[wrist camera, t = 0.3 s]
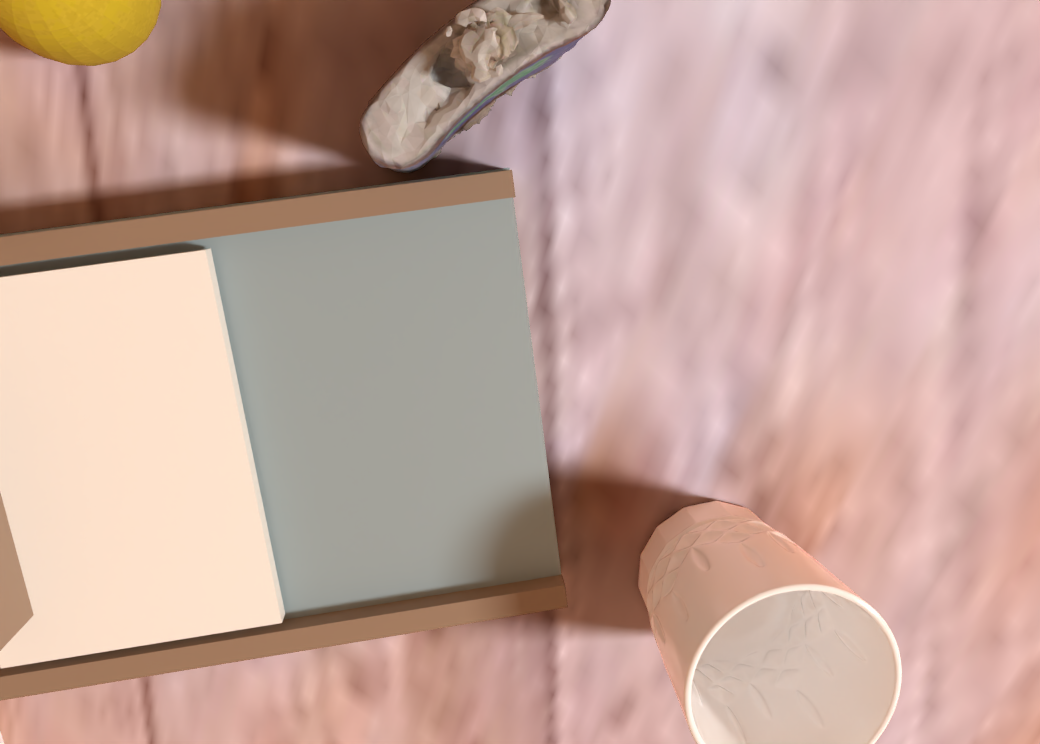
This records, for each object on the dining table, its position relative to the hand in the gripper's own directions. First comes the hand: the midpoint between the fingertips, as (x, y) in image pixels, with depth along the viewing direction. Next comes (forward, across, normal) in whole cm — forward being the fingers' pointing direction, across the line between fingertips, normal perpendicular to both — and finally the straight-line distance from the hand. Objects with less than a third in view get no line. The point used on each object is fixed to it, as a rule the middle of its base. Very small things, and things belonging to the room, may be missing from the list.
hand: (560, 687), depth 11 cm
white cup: (+28, +9, -13) cm, 32 cm away
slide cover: (+25, -15, -2) cm, 29 cm away
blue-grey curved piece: (+28, +2, +10) cm, 29 cm away
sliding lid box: (+27, -10, -2) cm, 29 cm away
